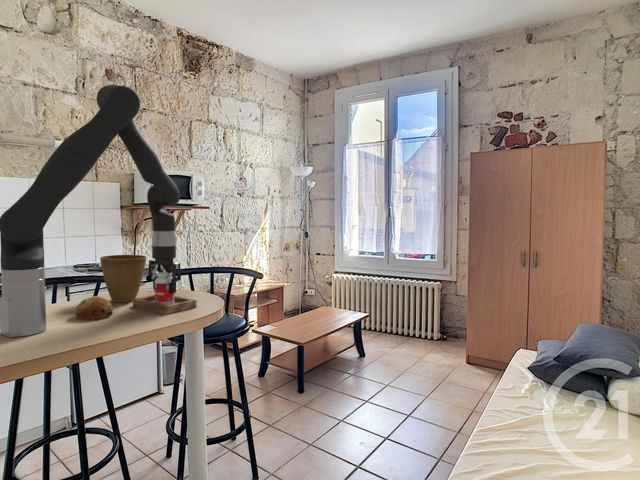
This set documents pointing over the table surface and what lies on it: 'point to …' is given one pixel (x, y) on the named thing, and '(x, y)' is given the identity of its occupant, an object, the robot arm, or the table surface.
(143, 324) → the table surface
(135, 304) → the shallow rectangular tray
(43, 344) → the table surface
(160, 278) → the pill bottle
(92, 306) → the bread roll
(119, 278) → the plant pot
